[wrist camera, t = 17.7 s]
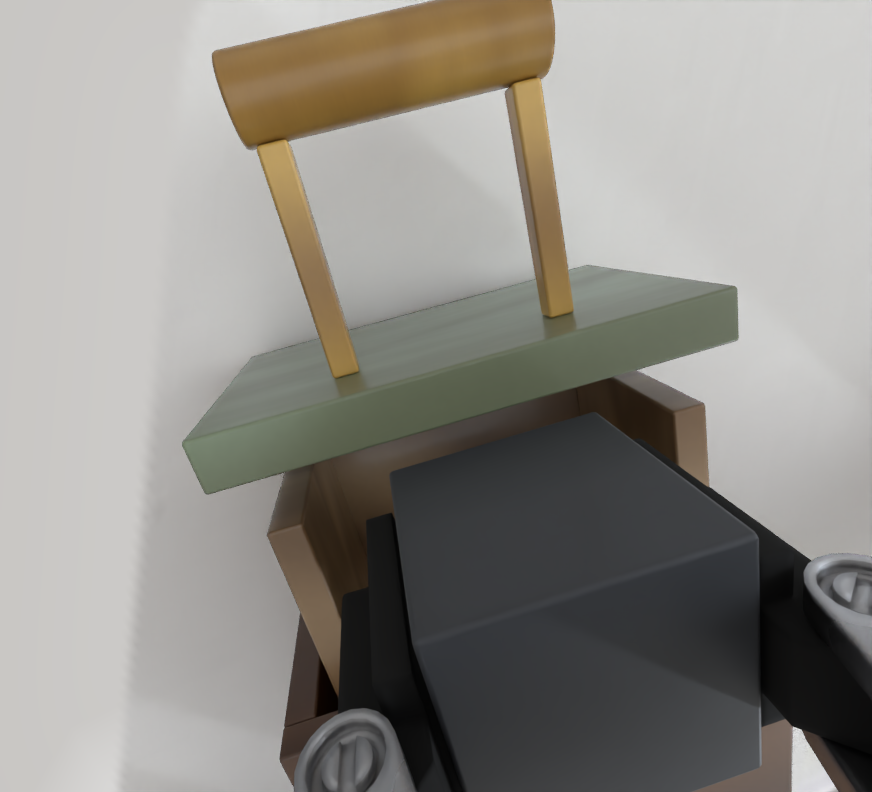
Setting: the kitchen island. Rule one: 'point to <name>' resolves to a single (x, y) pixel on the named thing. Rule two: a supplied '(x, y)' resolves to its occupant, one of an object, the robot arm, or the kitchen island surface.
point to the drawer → (438, 326)
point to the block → (581, 615)
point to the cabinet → (319, 703)
